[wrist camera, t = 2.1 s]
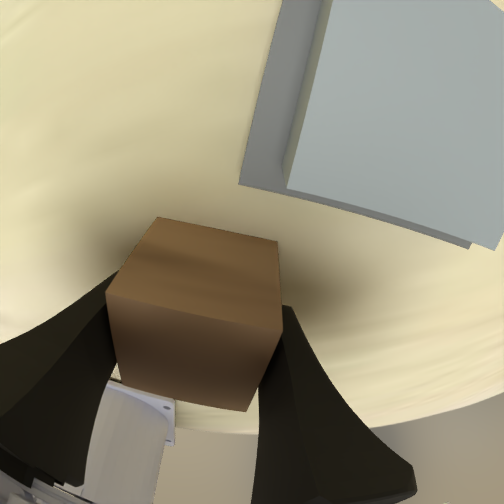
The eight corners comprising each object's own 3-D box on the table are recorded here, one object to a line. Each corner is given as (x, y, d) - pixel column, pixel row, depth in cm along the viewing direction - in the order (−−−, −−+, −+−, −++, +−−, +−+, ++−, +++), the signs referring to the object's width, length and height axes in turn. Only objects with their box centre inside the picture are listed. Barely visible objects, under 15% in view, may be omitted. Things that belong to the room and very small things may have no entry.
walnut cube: (251, 325, 13) (246, 412, 9) (154, 304, 13) (122, 385, 9) (277, 240, 11) (283, 330, 7) (158, 215, 10) (105, 291, 7)
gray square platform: (445, 225, 11) (468, 249, 9) (243, 166, 10) (238, 184, 8) (499, 47, 6) (529, 48, 4) (299, -53, 5) (305, -78, 4)
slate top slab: (464, 222, 8) (494, 250, 7) (282, 165, 8) (286, 188, 6) (511, 54, 5) (548, 58, 3) (332, -46, 4) (348, -76, 3)
